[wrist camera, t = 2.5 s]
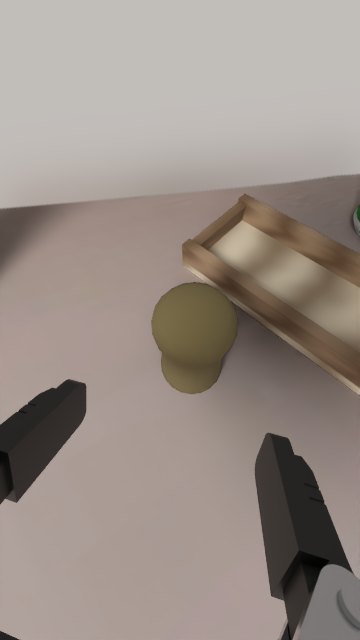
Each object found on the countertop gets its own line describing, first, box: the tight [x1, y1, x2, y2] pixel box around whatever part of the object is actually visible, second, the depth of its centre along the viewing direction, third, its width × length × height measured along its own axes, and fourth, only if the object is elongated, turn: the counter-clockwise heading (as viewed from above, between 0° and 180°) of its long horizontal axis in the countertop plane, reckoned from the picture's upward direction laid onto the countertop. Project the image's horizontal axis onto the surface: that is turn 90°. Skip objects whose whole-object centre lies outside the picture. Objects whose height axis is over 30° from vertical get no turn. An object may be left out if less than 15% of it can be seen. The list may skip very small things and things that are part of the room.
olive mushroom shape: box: [151, 282, 238, 394], centre depth 17 cm, size 6×6×11 cm
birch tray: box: [182, 194, 360, 395], centre depth 23 cm, size 26×11×4 cm, turn 46°
